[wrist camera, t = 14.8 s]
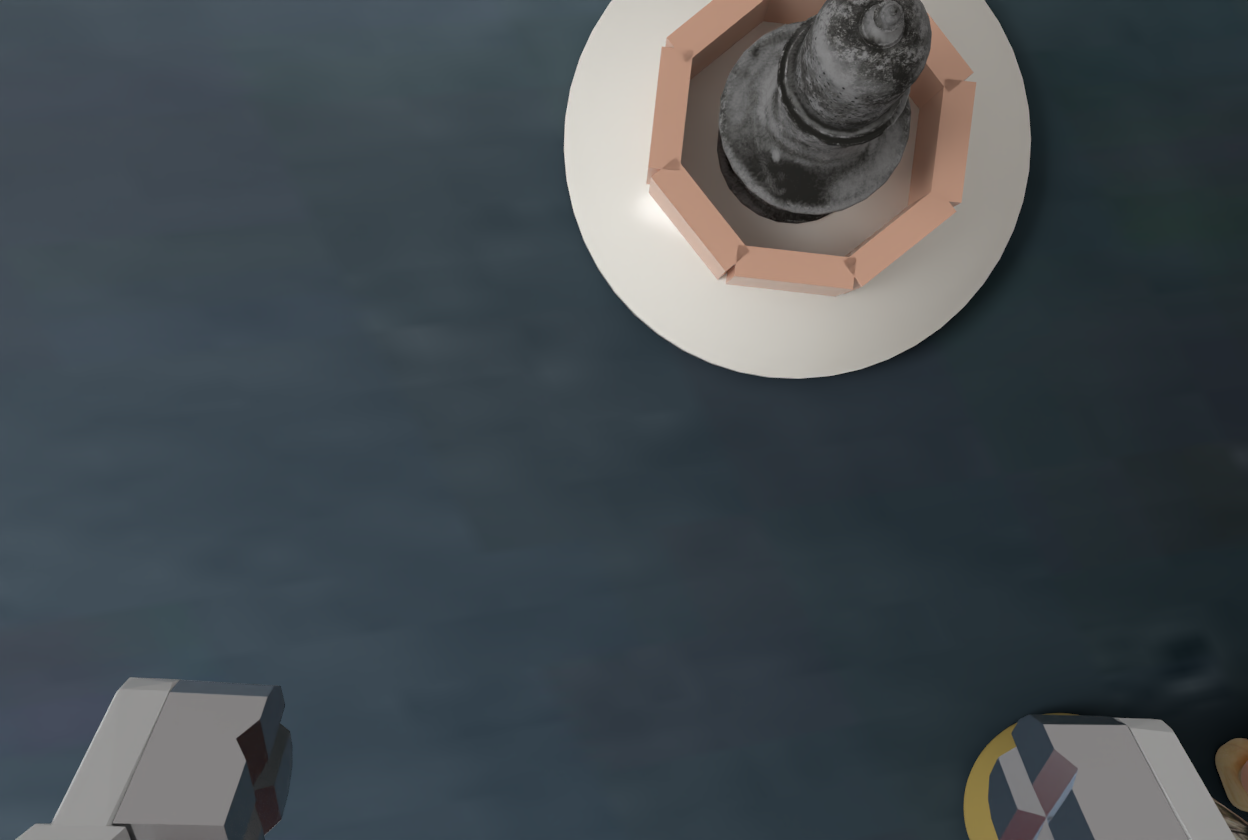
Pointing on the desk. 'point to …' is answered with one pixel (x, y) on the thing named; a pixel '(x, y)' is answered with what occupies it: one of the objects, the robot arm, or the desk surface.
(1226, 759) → the grandmother figurine
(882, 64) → the grey chess piece
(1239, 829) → the wooden cylinder
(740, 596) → the desk surface
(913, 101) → the saucer
